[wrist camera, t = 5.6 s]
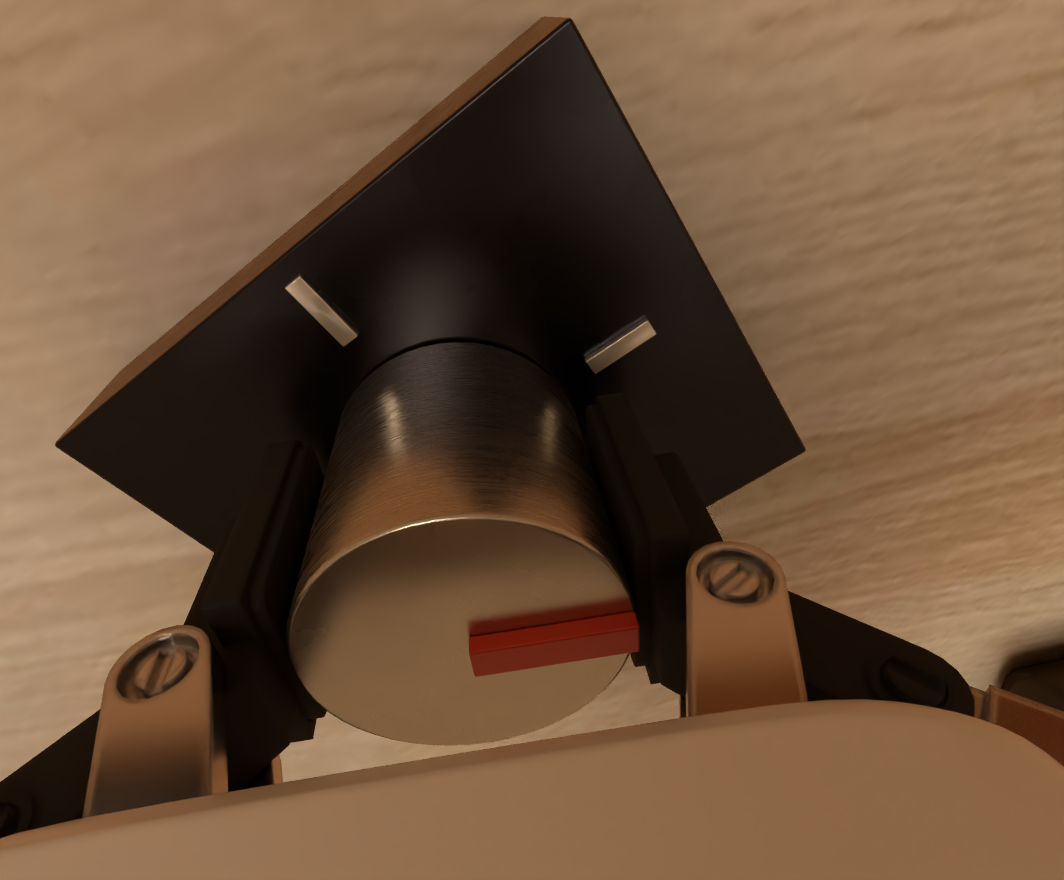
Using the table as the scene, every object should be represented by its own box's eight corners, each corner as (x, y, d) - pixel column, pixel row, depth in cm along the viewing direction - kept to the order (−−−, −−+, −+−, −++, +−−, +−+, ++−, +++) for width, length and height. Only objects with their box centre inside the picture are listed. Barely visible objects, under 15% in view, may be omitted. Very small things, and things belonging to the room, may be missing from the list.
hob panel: (118, 372, 15) (47, 451, 12) (544, 15, 12) (573, 15, 9) (407, 596, 20) (402, 685, 17) (754, 386, 17) (811, 455, 14)
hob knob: (370, 554, 15) (337, 787, 10) (304, 359, 12) (220, 567, 7) (584, 522, 15) (643, 737, 10) (571, 323, 12) (644, 504, 8)
